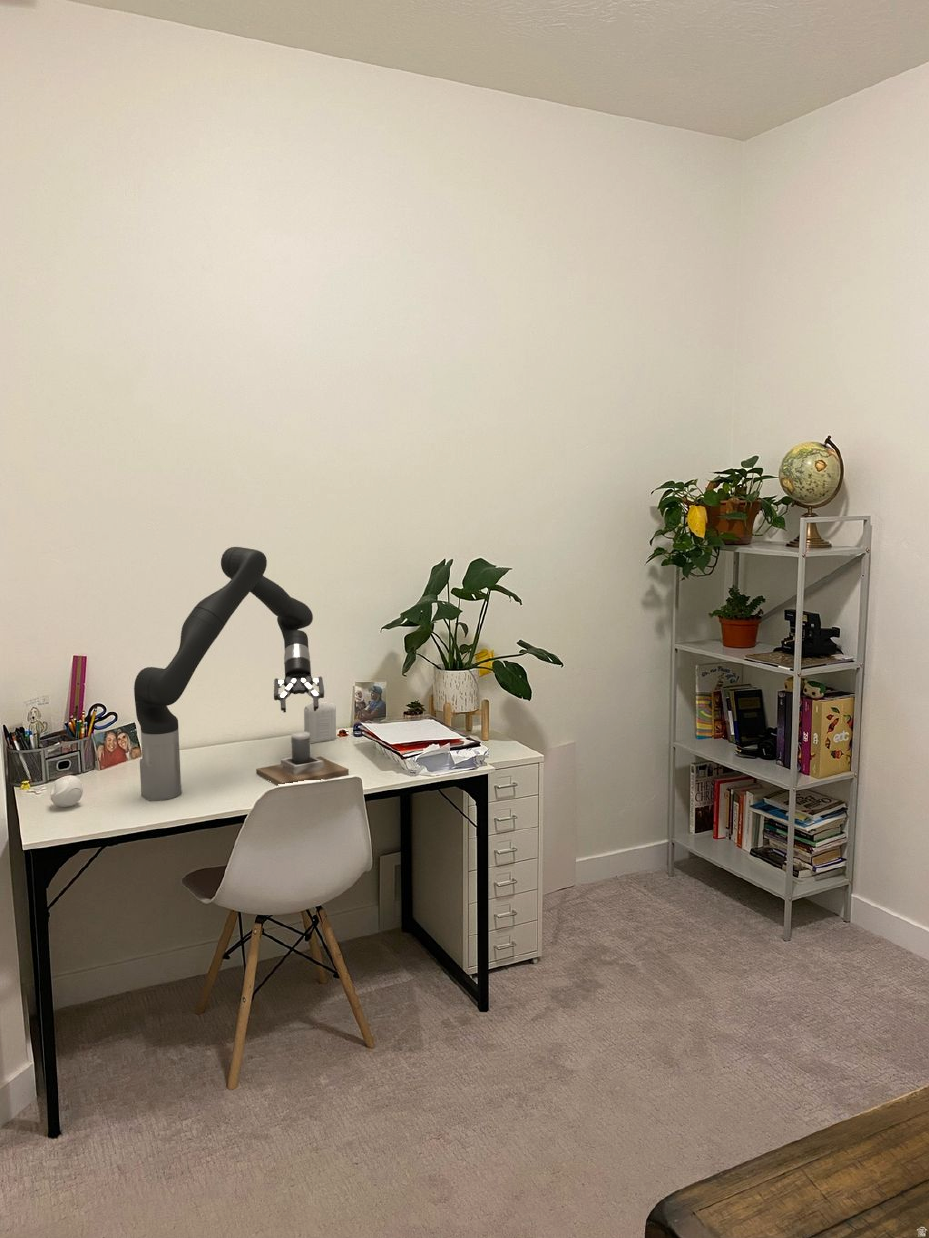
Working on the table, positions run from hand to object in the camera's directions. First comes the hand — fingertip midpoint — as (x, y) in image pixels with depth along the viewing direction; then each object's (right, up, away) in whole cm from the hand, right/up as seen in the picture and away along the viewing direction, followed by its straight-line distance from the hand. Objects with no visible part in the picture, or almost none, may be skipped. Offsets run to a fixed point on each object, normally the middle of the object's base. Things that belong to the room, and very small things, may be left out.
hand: (300, 710), depth 271 cm
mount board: (+2, -17, -7) cm, 18 cm away
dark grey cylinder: (+2, -16, -7) cm, 17 cm away
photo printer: (+2, -12, +28) cm, 31 cm away
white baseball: (-52, -21, -33) cm, 65 cm away
